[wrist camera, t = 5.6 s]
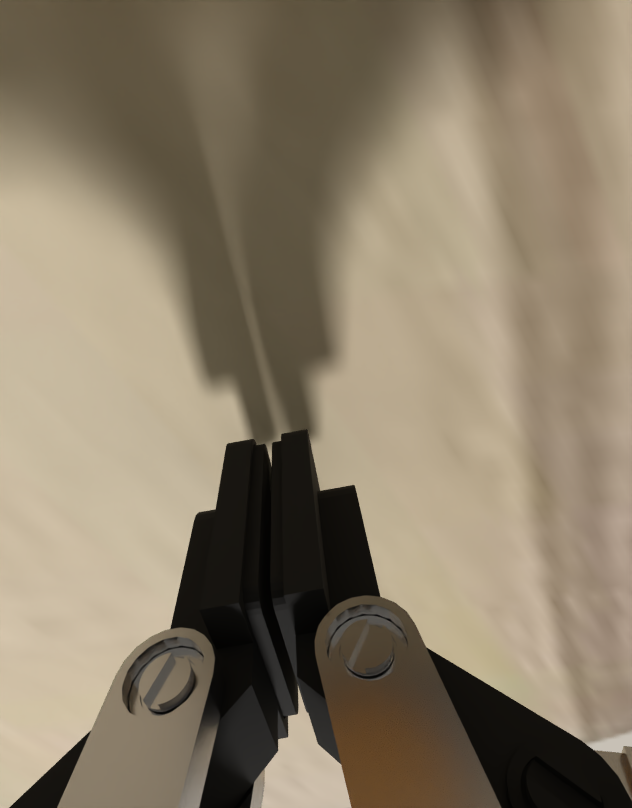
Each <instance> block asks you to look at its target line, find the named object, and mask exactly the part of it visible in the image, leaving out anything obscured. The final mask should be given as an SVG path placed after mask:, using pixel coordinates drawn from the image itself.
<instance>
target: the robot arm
mask: <svg viewBox="0 0 632 808" xmlns="http://www.w3.org/2000/svg"><path fill="white" fill-rule="evenodd" d="M298 686H299V690H300V693H301V696H302V699H303V702H304V705H305V709H306V711H307V712H308V713H309V716H310V719H311V723H312V726H313V729H314V732H315V735H316V738H317V742H318V744H319V745H320V746H321V747H322V748H323V749H324V750H326V751H327V752H328V753H329V754H330V755H331V756H332V757H333V758H335V759H336V760H337V761H338V762H339V763H340V764H341V765H342V769H343V773H344V778H345V782H346V786H347V790H348V794H349V799H350V803H351V807H352V808H632V747H627V746H624V747H623V750H622V753H616V752H604V751H595V750H593V749H591V748H590V747H589V746H587V745H586V744H585V743H583V742H582V741H581V740H579V739H578V738H576V737H574V736H573V735H571V734H569V733H568V732H566V731H564V730H563V729H561V728H559V727H558V726H556V725H554V724H553V723H551V722H549V721H548V720H546V719H544V718H543V717H541V716H539V715H538V714H536V713H534V712H533V711H531V710H529V709H528V708H526V707H524V706H523V705H521V704H519V703H518V702H516V701H514V700H513V699H511V698H509V697H508V696H506V695H504V694H503V693H501V692H499V691H498V690H496V689H494V688H493V687H491V686H490V685H488V684H486V683H485V682H483V681H481V680H480V679H478V678H476V677H475V676H473V675H471V674H470V673H468V672H466V671H465V670H463V669H461V668H460V667H458V666H456V665H455V664H453V663H451V662H450V661H448V660H446V659H445V658H443V657H441V656H440V655H438V654H436V653H435V652H433V651H431V650H430V649H428V648H426V646H425V644H424V642H423V640H422V638H421V635H420V633H419V631H418V629H417V627H416V625H415V623H414V622H413V620H412V619H411V617H410V616H409V614H408V613H407V612H406V611H405V610H404V609H403V608H401V607H400V606H399V605H398V604H396V603H395V602H393V601H390V600H388V599H385V598H382V597H380V593H379V589H378V585H377V580H376V576H375V572H374V567H373V563H372V558H371V554H370V550H369V545H368V541H367V537H366V532H365V528H364V524H363V519H362V515H361V511H360V506H359V502H358V497H357V493H356V489H355V486H354V485H351V486H346V487H340V488H334V489H329V490H323V491H320V488H319V483H318V478H317V473H316V468H315V463H314V458H313V454H312V449H311V444H310V439H309V434H308V430H307V429H306V430H300V431H295V432H289V433H284V434H281V441H278V442H273V443H272V466H271V463H270V459H269V455H268V451H267V448H266V445H265V444H261V445H256V442H255V440H254V439H250V440H245V441H239V442H233V443H228V444H227V446H226V451H225V457H224V463H223V469H222V475H221V481H220V487H219V493H218V499H217V505H216V510H210V511H204V512H199V513H198V514H197V515H196V517H195V520H194V524H193V529H192V533H191V538H190V542H189V547H188V551H187V556H186V561H185V565H184V570H183V574H182V579H181V583H180V588H179V592H178V597H177V602H176V606H175V611H174V615H173V620H172V624H171V629H169V630H165V631H162V632H160V633H158V634H156V635H154V636H151V637H150V638H148V639H147V640H146V641H144V642H143V643H142V644H140V645H139V646H137V647H136V648H135V649H134V651H133V652H132V653H131V654H130V655H129V656H128V657H127V658H126V659H125V660H124V662H123V664H122V665H121V667H120V669H119V671H118V672H117V674H116V676H115V678H114V680H113V682H112V685H111V687H110V689H109V692H108V694H107V696H106V698H105V701H104V703H103V705H102V707H101V710H100V712H99V714H98V716H97V719H96V721H95V723H94V725H93V728H92V730H91V731H90V732H89V733H88V734H87V735H86V736H85V737H83V738H82V739H81V740H80V741H79V742H78V743H77V744H76V745H75V746H74V747H73V748H72V749H71V750H70V751H69V752H68V753H67V754H66V755H64V756H63V757H62V758H61V759H60V760H59V761H58V762H57V763H56V764H55V765H54V766H53V767H52V768H51V769H50V770H49V771H48V772H47V773H45V774H44V775H43V776H42V777H41V778H40V779H39V780H38V781H37V782H36V783H35V784H34V785H33V786H32V787H31V788H30V789H29V790H28V791H26V792H25V793H24V794H23V795H22V796H21V797H20V798H19V799H18V800H17V801H16V802H15V803H14V804H13V805H12V806H11V807H10V808H261V806H262V799H263V792H264V780H265V769H264V768H265V767H266V766H267V765H268V763H269V762H270V761H271V759H272V758H273V757H274V755H275V754H276V753H277V751H278V739H281V738H286V737H288V716H290V715H295V714H298Z"/></svg>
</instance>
